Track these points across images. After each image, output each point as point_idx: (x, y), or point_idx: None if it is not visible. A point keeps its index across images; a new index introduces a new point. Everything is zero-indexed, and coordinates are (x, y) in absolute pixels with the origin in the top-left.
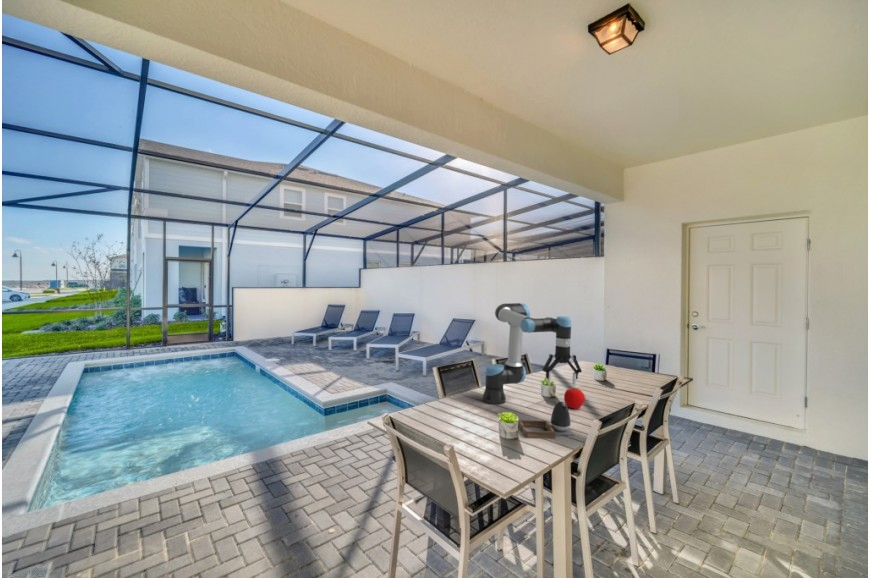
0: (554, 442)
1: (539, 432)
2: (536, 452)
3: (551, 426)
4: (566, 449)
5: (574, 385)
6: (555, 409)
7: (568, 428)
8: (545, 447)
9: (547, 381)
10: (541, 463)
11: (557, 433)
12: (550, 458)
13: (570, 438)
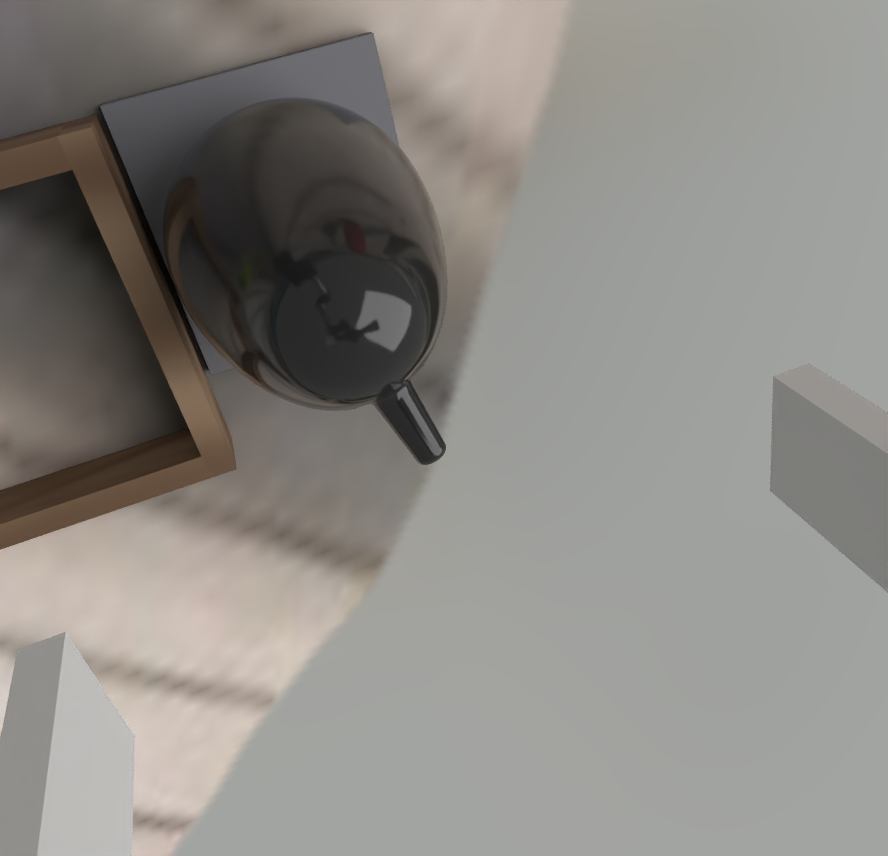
0: (227, 524)
1: (57, 529)
2: None
3: (171, 149)
4: (329, 600)
5: (778, 495)
6: (244, 372)
7: None
8: (152, 640)
9: (10, 717)
10: (149, 841)
11: None
12: (207, 765)
13: None
